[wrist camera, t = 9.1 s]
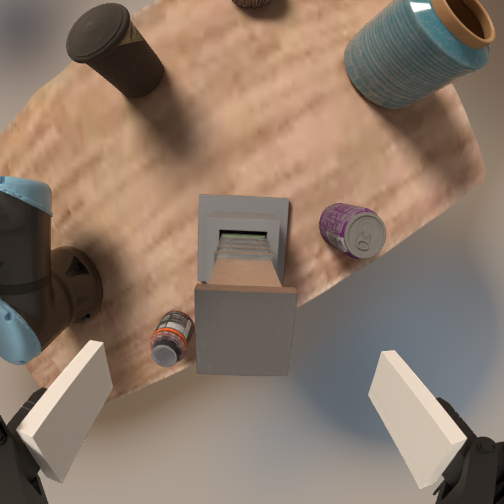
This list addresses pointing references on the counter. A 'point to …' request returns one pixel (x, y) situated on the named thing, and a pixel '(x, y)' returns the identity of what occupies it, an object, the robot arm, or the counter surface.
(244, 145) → the counter surface
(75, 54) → the container
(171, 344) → the supplement bottle
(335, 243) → the beverage can
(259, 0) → the cupcake
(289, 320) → the column
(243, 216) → the stand
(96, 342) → the robot arm
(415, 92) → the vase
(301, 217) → the counter surface
